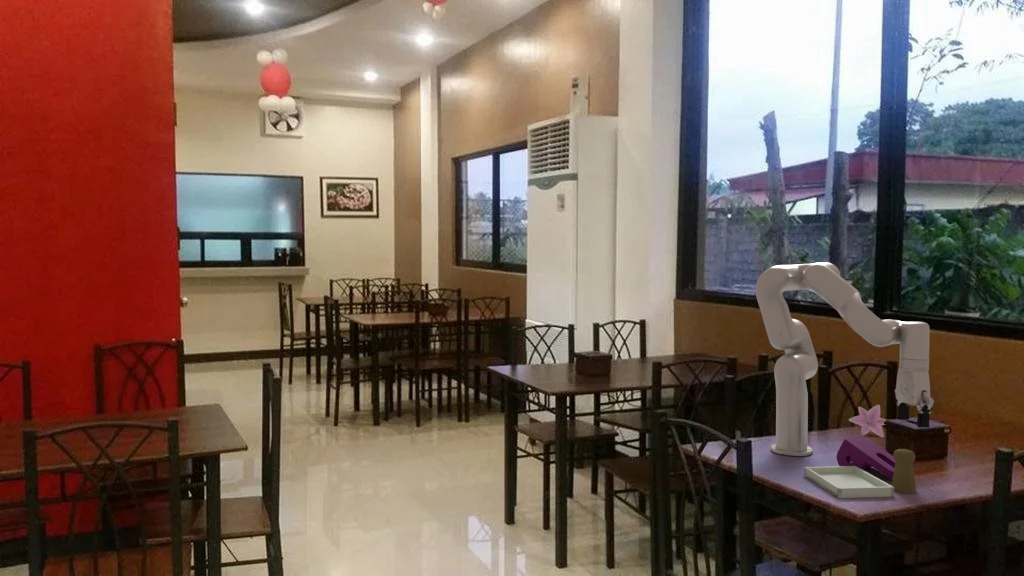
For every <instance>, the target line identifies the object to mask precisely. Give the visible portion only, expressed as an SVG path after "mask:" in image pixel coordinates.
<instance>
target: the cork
mask: <svg viewBox="0 0 1024 576" xmlns="http://www.w3.org/2000/svg"><path fill="white" fill-rule="evenodd" d="M892 456H893V457H894V459H895V461H896V462H895V468H894V474H893V479H892V481H891V486H893V487H894V493H898V494H903V495H904V494H905V495H910V494H911V495H913V494H916V493H917V485H916V480H915V479H916V478H915V470H914V469H915V468H914V462H915V460H916V454H915V452H914V451H913V450H910V449H907V448H898V449H895V450H894V451H893V455H892Z"/></svg>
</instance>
